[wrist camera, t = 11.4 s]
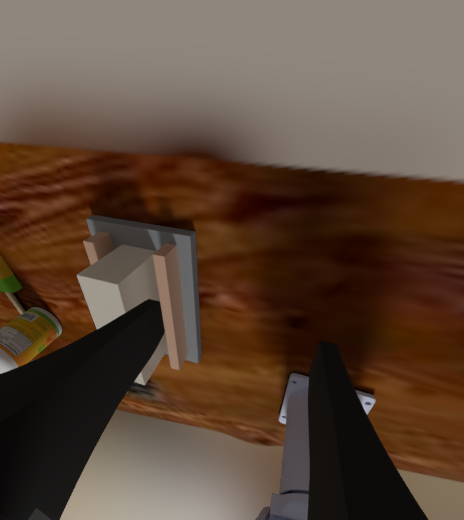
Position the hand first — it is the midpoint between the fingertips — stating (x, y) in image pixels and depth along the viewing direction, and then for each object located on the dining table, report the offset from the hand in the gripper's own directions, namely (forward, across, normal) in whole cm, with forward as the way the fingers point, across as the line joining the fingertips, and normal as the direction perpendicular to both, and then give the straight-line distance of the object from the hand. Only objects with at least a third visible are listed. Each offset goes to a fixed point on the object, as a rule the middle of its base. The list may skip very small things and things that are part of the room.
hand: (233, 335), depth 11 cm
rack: (+9, +11, +8) cm, 17 cm away
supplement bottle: (+10, +30, +18) cm, 36 cm away
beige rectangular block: (+8, +11, +8) cm, 16 cm away
